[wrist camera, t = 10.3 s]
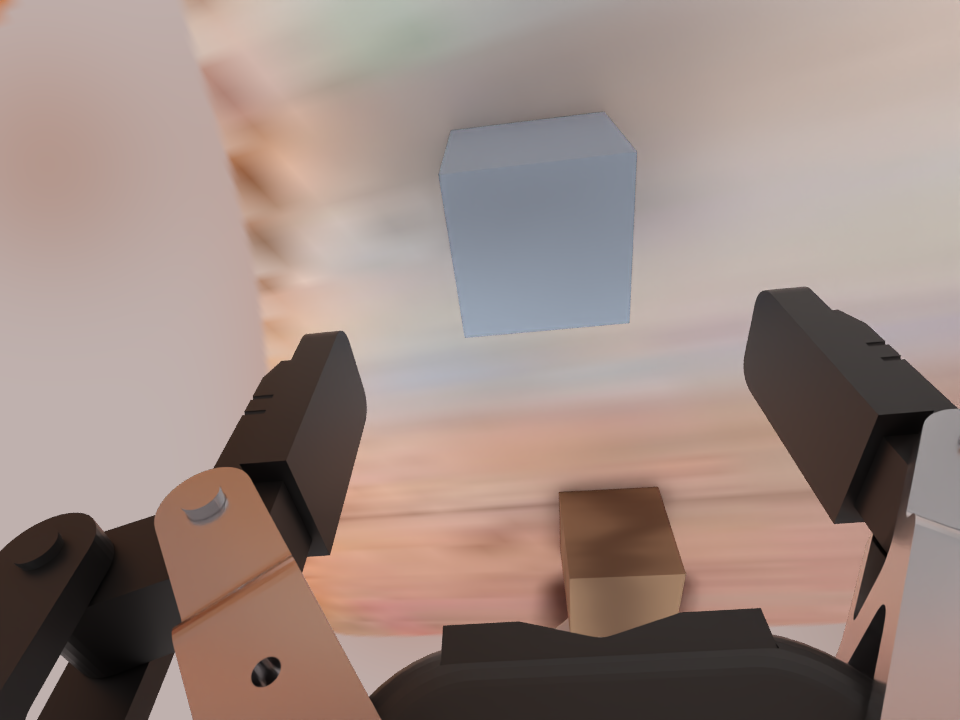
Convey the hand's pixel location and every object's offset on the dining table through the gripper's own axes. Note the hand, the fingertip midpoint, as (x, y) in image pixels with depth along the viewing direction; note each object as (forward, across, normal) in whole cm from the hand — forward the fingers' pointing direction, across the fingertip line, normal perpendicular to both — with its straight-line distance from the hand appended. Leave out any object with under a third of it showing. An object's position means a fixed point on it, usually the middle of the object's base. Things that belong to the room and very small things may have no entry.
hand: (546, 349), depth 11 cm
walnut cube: (+10, -3, +18) cm, 21 cm away
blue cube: (+10, 0, 0) cm, 10 cm away
